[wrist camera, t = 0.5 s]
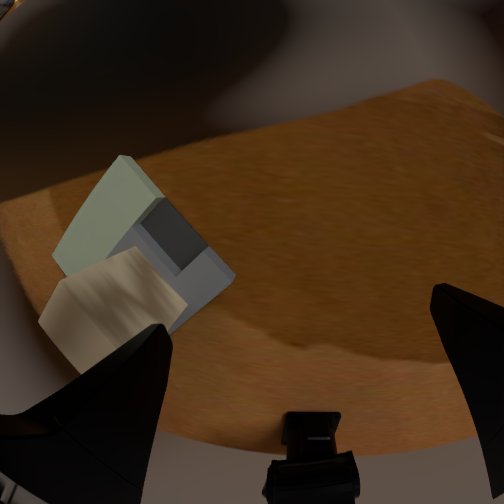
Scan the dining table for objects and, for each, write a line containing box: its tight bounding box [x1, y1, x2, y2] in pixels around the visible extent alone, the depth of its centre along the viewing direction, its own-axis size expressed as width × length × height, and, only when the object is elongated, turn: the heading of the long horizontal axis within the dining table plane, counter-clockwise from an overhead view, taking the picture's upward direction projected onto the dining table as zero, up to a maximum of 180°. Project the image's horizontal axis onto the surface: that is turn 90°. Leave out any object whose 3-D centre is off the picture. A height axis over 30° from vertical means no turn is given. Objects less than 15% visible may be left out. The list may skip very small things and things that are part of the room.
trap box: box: [52, 155, 236, 335], centre depth 25 cm, size 15×14×2 cm
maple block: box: [38, 246, 188, 374], centre depth 19 cm, size 7×5×10 cm
